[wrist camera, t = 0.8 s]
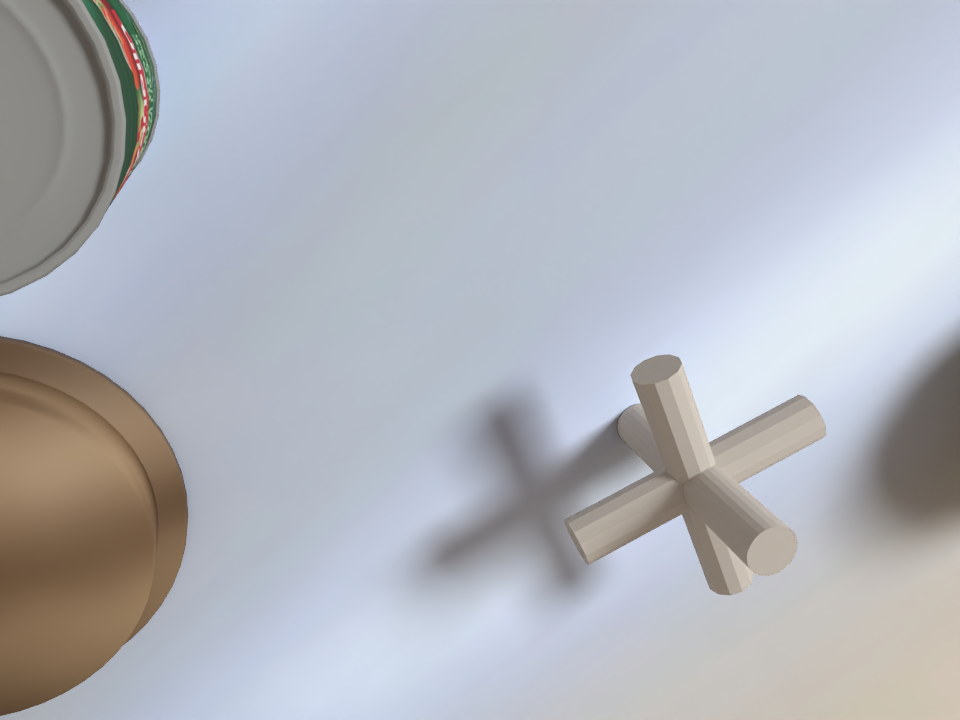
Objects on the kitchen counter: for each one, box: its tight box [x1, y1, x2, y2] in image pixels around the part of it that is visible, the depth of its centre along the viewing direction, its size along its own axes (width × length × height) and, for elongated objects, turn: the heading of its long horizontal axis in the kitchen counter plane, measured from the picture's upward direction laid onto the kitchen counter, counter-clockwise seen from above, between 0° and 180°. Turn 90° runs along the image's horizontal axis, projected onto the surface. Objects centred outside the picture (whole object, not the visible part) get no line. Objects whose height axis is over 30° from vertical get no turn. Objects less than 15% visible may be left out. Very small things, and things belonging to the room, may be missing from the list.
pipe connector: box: [565, 355, 826, 595], centre depth 32 cm, size 10×10×10 cm
